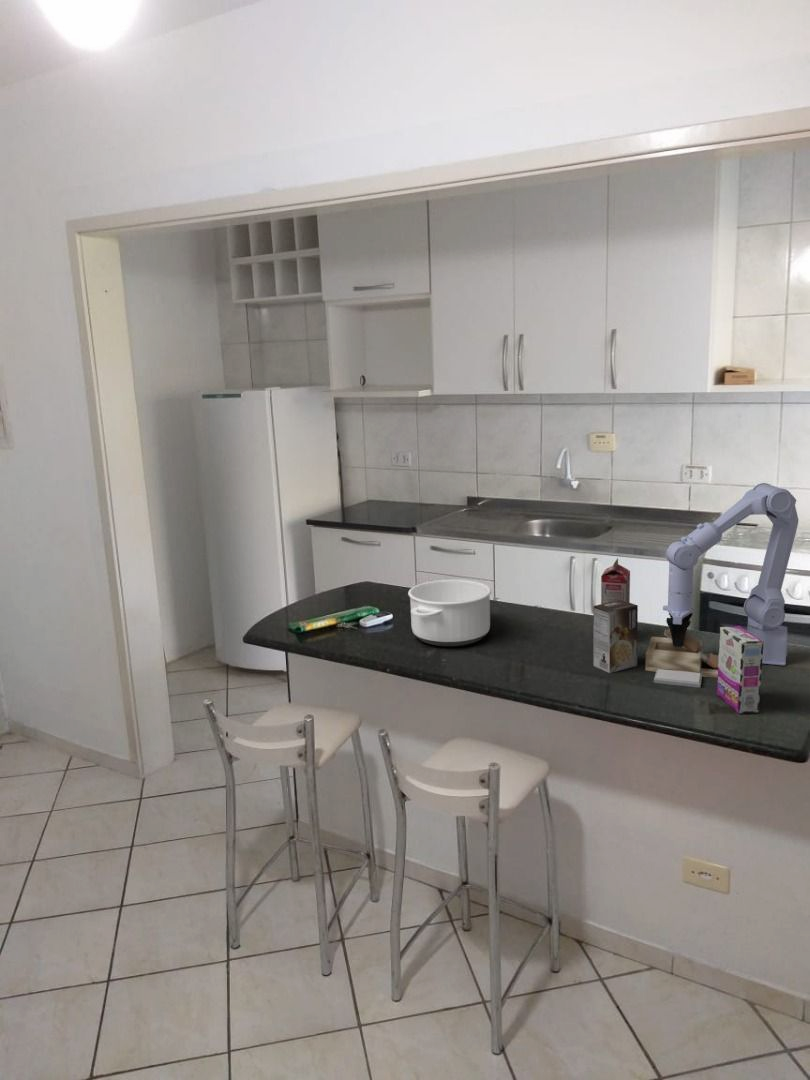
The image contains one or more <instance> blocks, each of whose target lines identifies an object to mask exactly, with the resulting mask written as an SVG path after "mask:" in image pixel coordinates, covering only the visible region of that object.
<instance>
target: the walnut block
mask: <svg viewBox="0 0 810 1080" xmlns="http://www.w3.org/2000/svg"><path fill="white" fill-rule="evenodd" d="M667 630H668V632H667V636H669V637H670V638H672V636H671V631H670V628H669V627H668V629H667ZM667 636H666V637H667ZM700 641H701V640H699V639H696V638H695V637H693V636H692V635H691V634H690V633H688V632H686V634H685V638H684V643H683V646H684V647H685V648H687V649H688V650H690V651H691V652H693V653H696V652H697V650H698V649H699V648H700Z"/></svg>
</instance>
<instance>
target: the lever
mask: <svg viewBox="0 0 810 1080" xmlns="http://www.w3.org/2000/svg"><path fill="white" fill-rule="evenodd" d="M667 632H668V629H665V630H664V632H663V635H664V636H665V637H666V638H670V637H669V636H667ZM670 639H671V640H672V638H670ZM682 647H683V648H684V649H686V650H687V651H689V652H690V653H693V652H691V651H690V650H688V649H687V648H685V647H684V646H682ZM696 653H698V651H697V652H696ZM703 654H704V653H703ZM703 654H702V653H701V660H702V662H704V663H705V664H706V665H708V666H710V667H711V669H712V668H713V670H718V661H719V660H718V659H719V658H718V657H716V656H715V655H716V654H713V653H712V652H710V653H708V654H709V656H708V657H706V656H705V655H703Z"/></svg>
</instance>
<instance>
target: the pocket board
mask: <svg viewBox="0 0 810 1080" xmlns="http://www.w3.org/2000/svg"><path fill="white" fill-rule="evenodd" d="M699 641H700V648H699V649H698V650H697V651H698V653H690V652H689V651H687V650H686V649H684V648H683V647H675V646H673V642H672V640H671V639H670V638H668V637H662V636H651V637H650V641H649V643H648V647H647V648H646V651H645V652H646V653H645V669H644V670H645V671H647V672H655V673H656V671H657V670H658V669H664V670H674V671H684V672H694V673H700V674H702V677H705V678H706V677H707V678H715V679H718V669H714V668H713V669H712V668H702V664H703V661H702V660H701V653H702V654H703V655H705V656H706V657H708V656H709V654H710V653H704V640H699ZM714 655H715V656H716V657H718V658H719V654H714Z"/></svg>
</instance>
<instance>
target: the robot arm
mask: <svg viewBox="0 0 810 1080" xmlns="http://www.w3.org/2000/svg"><path fill="white" fill-rule="evenodd" d="M796 502H797V499H796V497H794V495H793V494H792V493H791V492H790V491H789V490H788V489H786V488H782V487H781V488H780V487H778V486H774V485H771V484H769V483H768V482H760V483H757V484H756V485H754V487H753V488H752V489H749V490H747V491H746V492H745V494H744V495H743V496H742V497H741V499H739V500H738V501H737V502H736V503H735V504H733V505H731V507H729V508H728V509H727V510H726V511H725V512H724V513H722V514H721V515H720V516H719V517H718V518H717V519H716V520H714V521H713V522H707V521H706V522H703V523H698V524H697V525H696V529H694V530H693V531H692V532H690V533H689V534H687V535H686V536H682V537H681V538H680V540H681V541H680V540H679V541H674V542H672V543H671V544H670V545H669V546H668V549H667V550H666V551H665V553H664V555H665V557H666V560H667V561H668V562H669V563H668V565H669V566H668V592H667V594H668V596H667V605H663V607H662V610H663V611H665V612H668V615H669V617H666V621H665V622H666V624H667V626H668V629H669V628H670V631H671V636H672V642H673V646H675V647H682V646H683V643H684V638H685V634H686V633H687V631H688V628H689V627H690V625H691V623H692V621H691V620H690V619H692V617H693V612H694V608H693V595H694V593H693V592H694V588H693V587H694V567H695V566H696V565H697V564H698V562H699V558H700V557H701V556H703V554H705V553H706V552H708V551H709V550H710V549H712V548H713V547H715V546H716V545H717V544H718V543H720V542H721V541H722V538H723V537H722V536H723V533H726V531H728V530H729V529H731V528H732V527H734V526H736V525H737V524H739V523H740V522H741V521H743V520H744V519H746V518H748V517H749V516H751V515H757V516H758V515H762V516H766V517H767V518H768V519H769V520H770V522H771V523H772V526H771V527H772V528H771V531H770V535H769V539H768V543H767V547H766V550H765V555H764V558H763V563H762V567H761V571H760V576H759V578H758V583H757V585H755V586H754V587H753V588H751V590H750V593H749V596H748V597H747V598H746V600H745V601H744V603H743V612H744V614H745V615H746V616H747V626H746V627H747V629H746V631H748V632H749V633H751V634H752V635H754V636H755V637H757V638H759V639H760V640H762V641H763V642H764V643H763V658H762V665H763V664H765V665H766V664H767V665H775V666H786V665H787V663H786V662H787V657H788V648H787V647H788V646H787V645H788V626H784V625H782V624H783V623H784V622H785V618H786V612H785V608H784V607H785V603H786V601H785V598H784V596H783V593H782V592H783V591H782V588H783V585H784V581H785V576H786V572H787V569H788V564H789V562H790V561H789V560H790V557H791V552H792V549H793V546H794V540H795V538H796V534H797V529H798V526H799V516H798V513H797V512H798V511H797V508H796Z"/></svg>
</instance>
